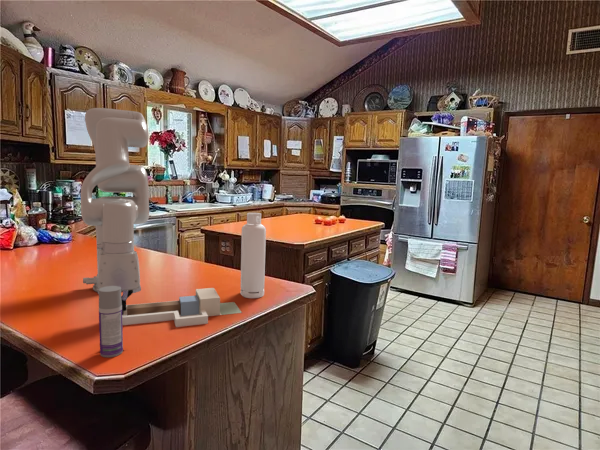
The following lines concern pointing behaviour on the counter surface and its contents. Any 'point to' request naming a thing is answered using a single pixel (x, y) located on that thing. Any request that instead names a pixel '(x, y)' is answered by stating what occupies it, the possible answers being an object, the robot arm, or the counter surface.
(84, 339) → the counter surface
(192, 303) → the block
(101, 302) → the container
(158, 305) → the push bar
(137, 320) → the lane
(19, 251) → the counter surface
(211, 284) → the counter surface
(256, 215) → the bottle
